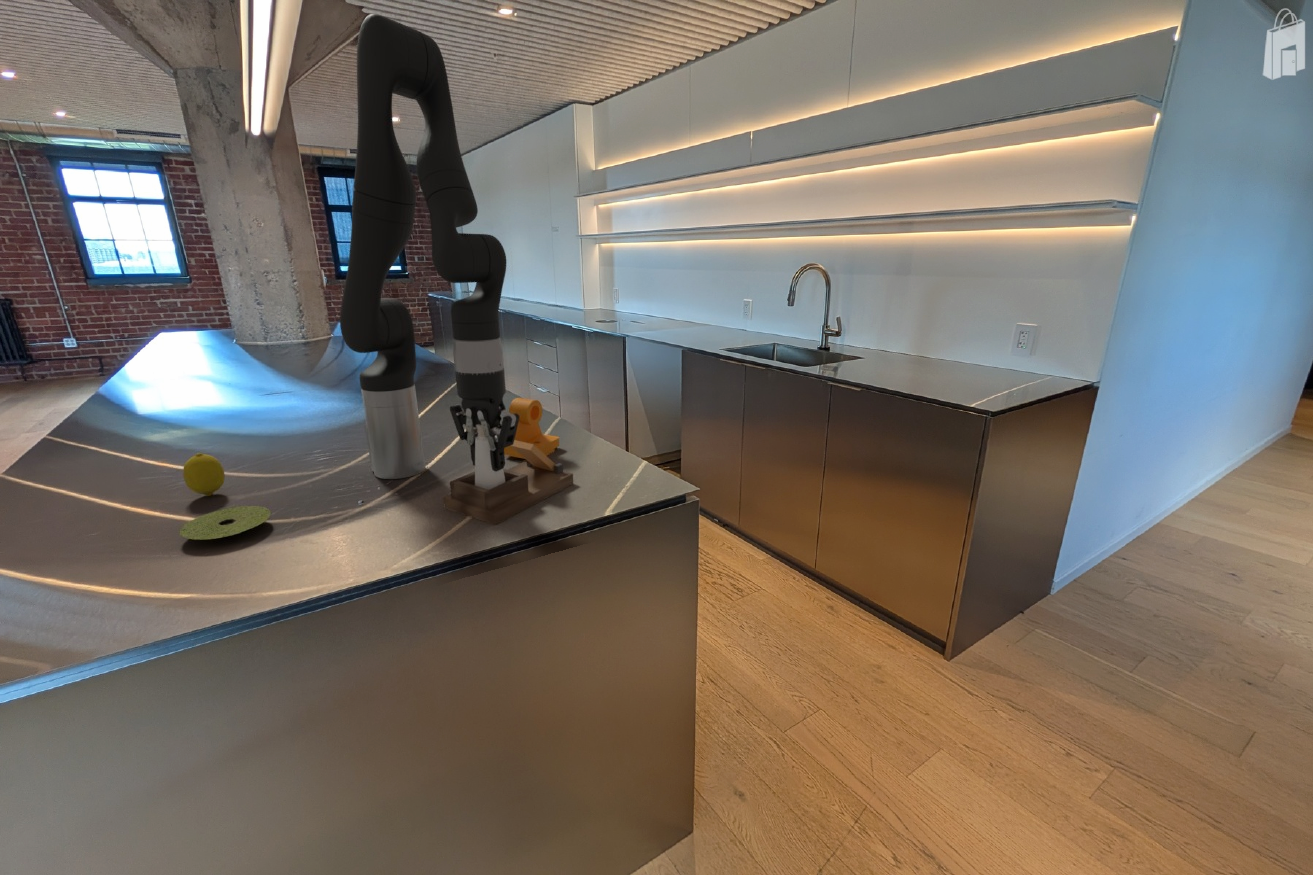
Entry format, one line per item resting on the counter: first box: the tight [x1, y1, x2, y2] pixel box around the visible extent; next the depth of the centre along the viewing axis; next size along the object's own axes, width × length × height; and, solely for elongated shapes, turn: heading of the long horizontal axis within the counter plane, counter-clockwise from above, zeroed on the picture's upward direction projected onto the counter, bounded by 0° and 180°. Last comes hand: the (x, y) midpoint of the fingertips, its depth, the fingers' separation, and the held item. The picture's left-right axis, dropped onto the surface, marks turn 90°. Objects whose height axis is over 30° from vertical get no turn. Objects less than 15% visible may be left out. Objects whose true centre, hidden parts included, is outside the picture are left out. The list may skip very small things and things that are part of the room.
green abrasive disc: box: [179, 505, 272, 541], centre depth 86 cm, size 11×11×2 cm
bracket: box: [504, 397, 560, 460], centre depth 120 cm, size 11×7×12 cm, turn 155°
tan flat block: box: [511, 440, 557, 471], centre depth 104 cm, size 5×9×1 cm
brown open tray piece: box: [442, 460, 574, 526], centre depth 100 cm, size 12×20×5 cm, turn 150°
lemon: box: [182, 452, 225, 497], centre depth 98 cm, size 6×6×8 cm
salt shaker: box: [474, 425, 505, 490], centre depth 94 cm, size 5×5×11 cm
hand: (488, 466), depth 95 cm, fingers closed on salt shaker, 3 cm apart
